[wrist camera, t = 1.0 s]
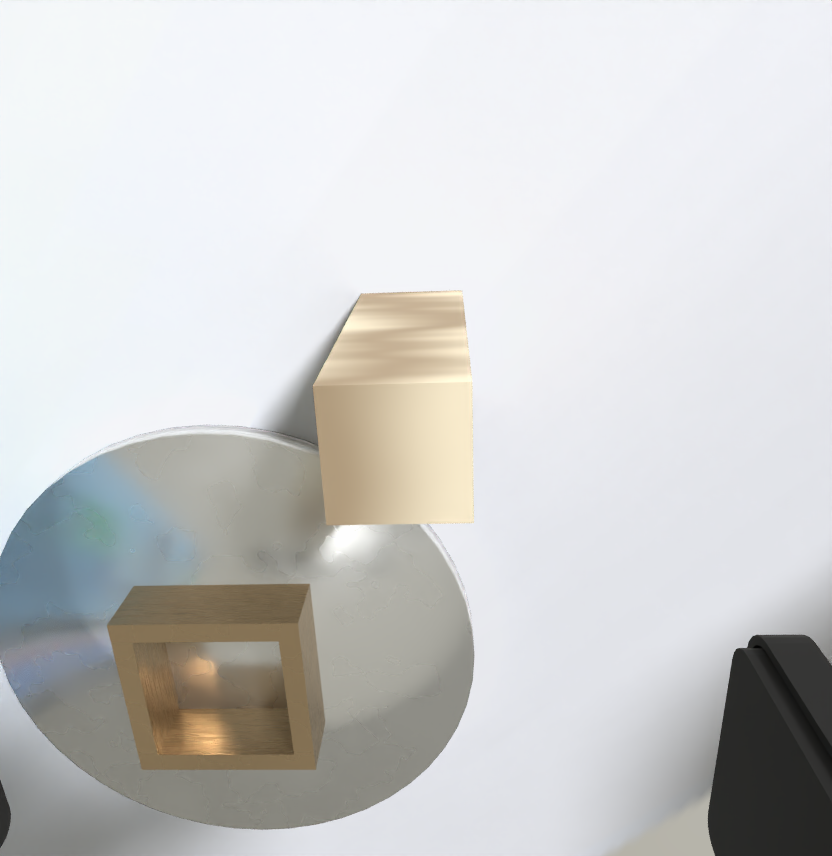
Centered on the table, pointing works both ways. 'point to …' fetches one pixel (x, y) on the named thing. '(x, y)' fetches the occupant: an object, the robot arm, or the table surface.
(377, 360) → the tan block
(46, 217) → the table surface
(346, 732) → the rosette plate
